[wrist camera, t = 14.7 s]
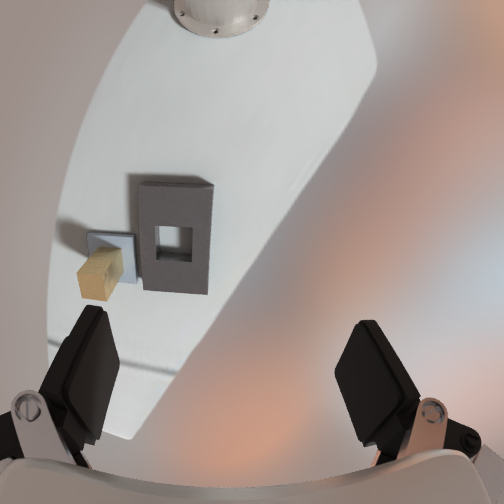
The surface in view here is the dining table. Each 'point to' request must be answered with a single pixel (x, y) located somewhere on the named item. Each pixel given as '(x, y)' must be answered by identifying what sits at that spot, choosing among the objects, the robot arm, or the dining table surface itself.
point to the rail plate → (176, 215)
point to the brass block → (100, 273)
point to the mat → (117, 241)
